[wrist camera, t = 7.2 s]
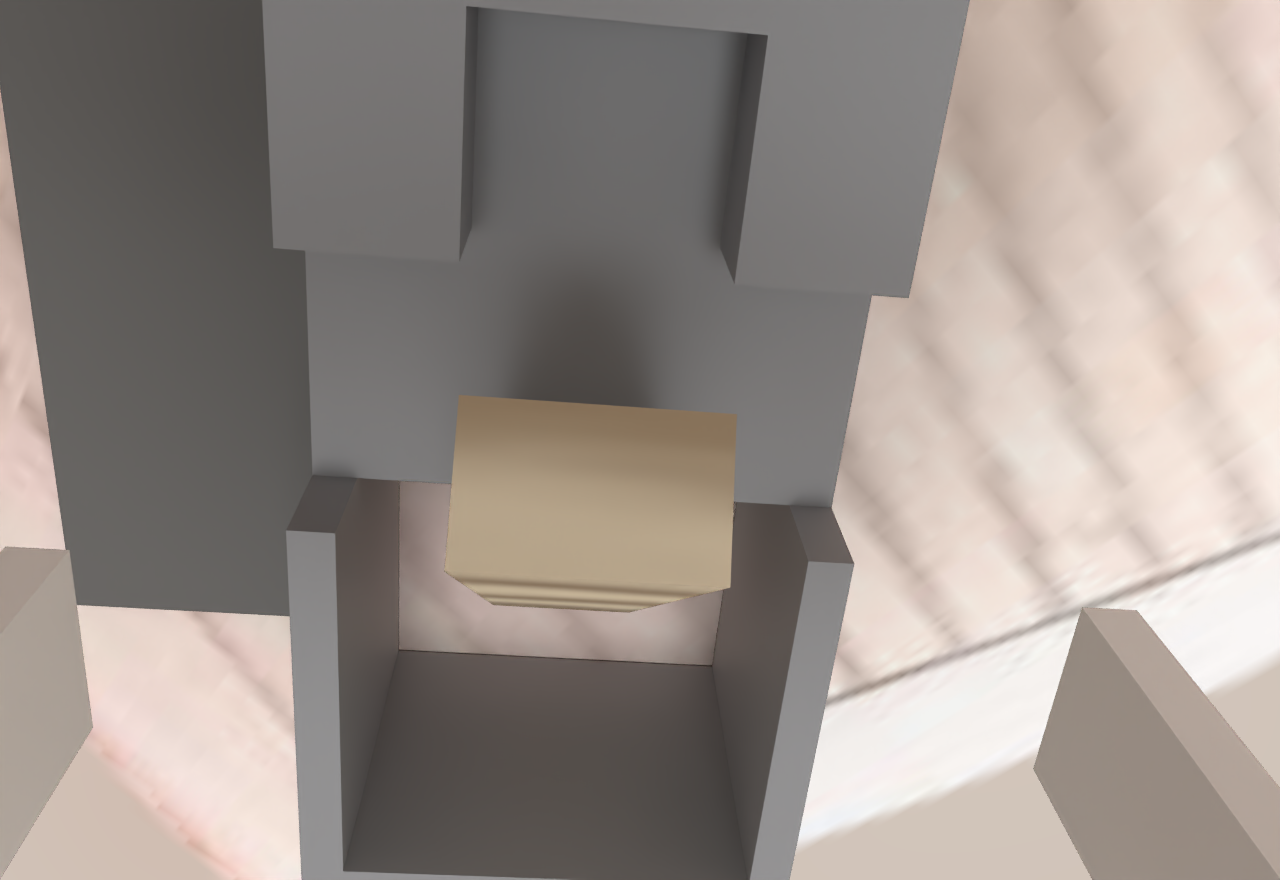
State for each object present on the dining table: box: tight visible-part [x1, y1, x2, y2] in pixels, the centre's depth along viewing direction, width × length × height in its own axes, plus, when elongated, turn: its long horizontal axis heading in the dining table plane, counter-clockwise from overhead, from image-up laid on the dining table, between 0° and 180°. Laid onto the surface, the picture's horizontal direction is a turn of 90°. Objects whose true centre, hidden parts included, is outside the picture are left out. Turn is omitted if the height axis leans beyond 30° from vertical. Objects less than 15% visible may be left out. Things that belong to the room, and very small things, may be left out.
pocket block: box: [262, 0, 970, 880], centre depth 28 cm, size 23×12×9 cm, turn 175°
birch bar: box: [444, 395, 737, 612], centre depth 25 cm, size 18×4×2 cm
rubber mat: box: [0, 0, 312, 616], centre depth 30 cm, size 20×8×1 cm, turn 175°
